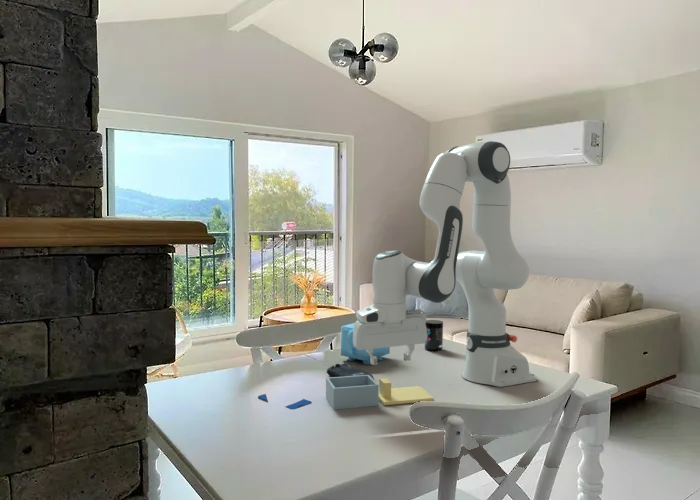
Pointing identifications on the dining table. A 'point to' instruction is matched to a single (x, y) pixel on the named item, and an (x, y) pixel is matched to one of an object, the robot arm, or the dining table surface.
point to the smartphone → (292, 406)
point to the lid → (401, 394)
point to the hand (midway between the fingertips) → (390, 362)
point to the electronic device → (345, 371)
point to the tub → (352, 392)
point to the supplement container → (434, 335)
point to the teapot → (353, 352)
